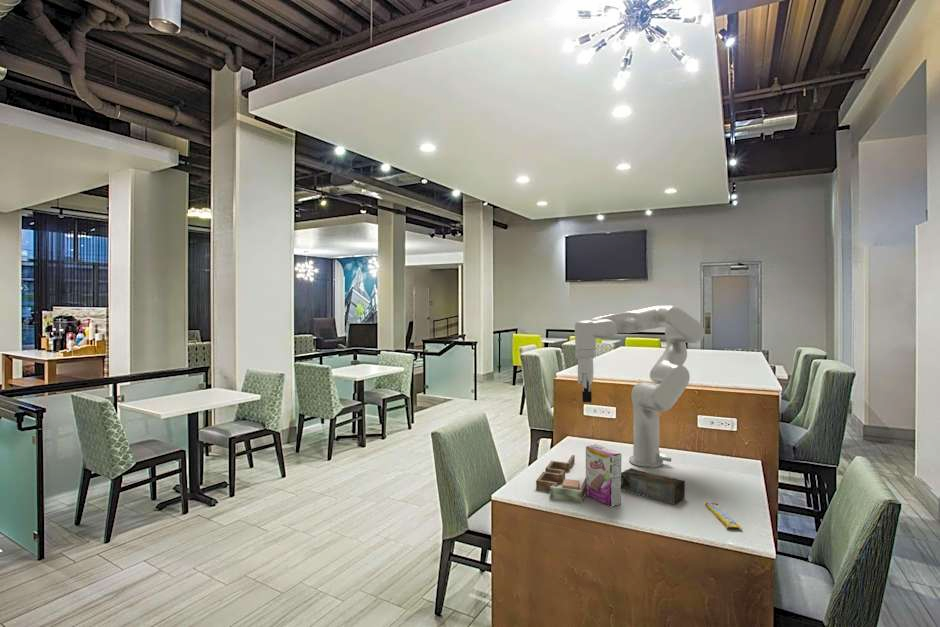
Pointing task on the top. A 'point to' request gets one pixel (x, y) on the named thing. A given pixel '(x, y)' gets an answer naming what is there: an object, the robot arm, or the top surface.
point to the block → (571, 484)
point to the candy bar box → (603, 474)
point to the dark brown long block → (653, 485)
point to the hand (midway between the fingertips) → (587, 401)
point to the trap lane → (559, 481)
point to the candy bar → (722, 516)
